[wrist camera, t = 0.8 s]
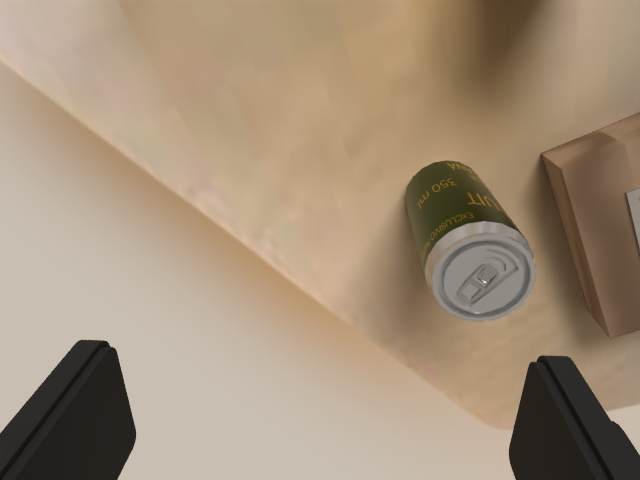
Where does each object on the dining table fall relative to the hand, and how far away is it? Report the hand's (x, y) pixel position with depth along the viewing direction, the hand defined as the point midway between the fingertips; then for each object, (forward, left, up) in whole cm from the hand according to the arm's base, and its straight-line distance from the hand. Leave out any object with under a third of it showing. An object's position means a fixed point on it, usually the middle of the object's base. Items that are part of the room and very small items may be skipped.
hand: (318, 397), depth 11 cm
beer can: (-5, +7, -24) cm, 26 cm away
